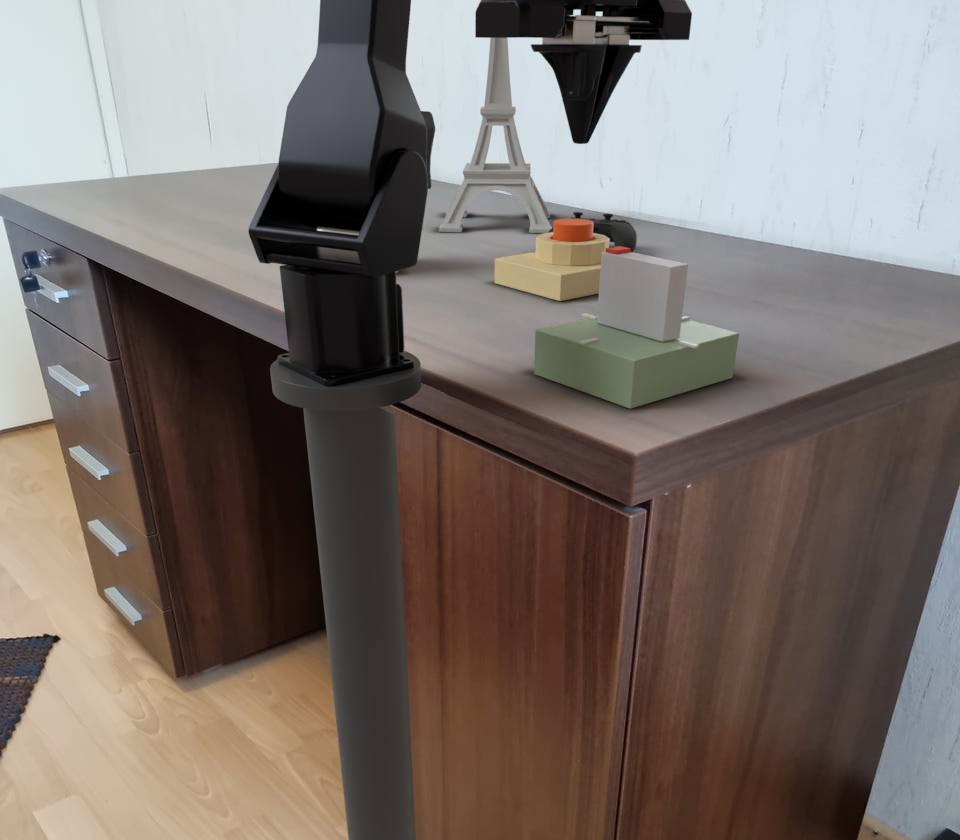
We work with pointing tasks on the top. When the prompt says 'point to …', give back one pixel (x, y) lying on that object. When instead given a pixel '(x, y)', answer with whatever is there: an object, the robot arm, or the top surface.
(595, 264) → the switch
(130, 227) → the top surface
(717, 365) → the panel
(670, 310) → the white square block
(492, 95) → the eiffel tower
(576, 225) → the button
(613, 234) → the gaming controller
